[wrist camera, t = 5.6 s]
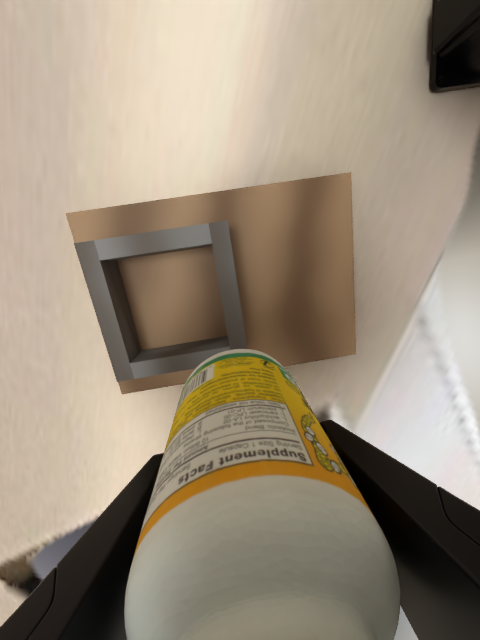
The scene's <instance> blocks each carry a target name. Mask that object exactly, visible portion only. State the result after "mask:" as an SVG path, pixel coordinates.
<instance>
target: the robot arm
mask: <svg viewBox="0 0 480 640" xmlns="http://www.w3.org/2000/svg"><path fill="white" fill-rule="evenodd" d="M439 80H440V82H441V83H439ZM430 85H431V89H432V90H433V91H434V92H439V91H447V90H454V89H462V88H469V87H477V86H480V0H434V17H433V40H432V62H431V84H430ZM319 424H320V425H321V427H322V429H323V430H324V432H325V433H326V435H327V437H328V438H329V440H330V442H331V444H332V445H333V447H334V449H335V450H336V452H337V454H338V455H339V457H340V459H341V460H342V462H343V464H344V466H345V467H346V469H347V471H348V472H349V474H350V476H351V477H352V479H353V481H354V483H355V484H356V486H357V488H358V489H359V491H360V493H361V495H362V496H363V498H364V500H365V502H366V504H367V505H368V507H369V509H370V510H371V512H372V514H373V515H374V517H375V519H376V521H377V522H378V524H379V526H380V528H381V529H382V531H383V533H384V535H385V537H386V539H387V541H388V544H389V546H390V549H391V551H392V554H393V557H394V560H395V563H396V568H397V572H398V577H399V585H400V605H401V607H402V609H403V611H404V612H405V615H406V617H407V618H408V620H409V622H410V624H411V626H412V628H413V630H414V632H415V634H416V635H417V637H418V639H419V640H480V510H478V509H476V508H475V507H473V506H471V505H469V504H468V503H466V502H464V501H463V500H461V499H459V498H458V497H456V496H454V495H453V494H451V493H449V492H448V491H446V490H445V489H443V488H441V487H437V485H436V484H435V483H433V482H431V481H430V480H428V479H426V478H425V477H423V476H422V475H420V474H418V473H417V472H415V471H413V470H412V469H410V468H409V467H407V466H405V465H404V464H402V463H400V462H399V461H397V460H396V459H394V458H392V457H391V456H389V455H387V454H386V453H384V452H383V451H381V450H379V449H378V448H376V447H374V446H373V445H371V444H370V443H368V442H366V441H365V440H363V439H361V438H360V437H358V436H357V435H355V434H353V433H352V432H350V431H348V430H347V429H345V428H344V427H342V426H340V425H339V424H337V423H335V422H334V421H332V420H325V421H321V422H320V423H319ZM163 455H164V453H161V454H157V455H154V456H152V457H151V458H150V460H149V461H148V462H147V463H146V464H145V465H144V466H143V468H142V469H141V470H140V471H139V472H138V473H137V474H136V475H135V477H134V478H133V479H132V480H131V481H130V482H129V483H128V485H127V486H126V487H125V488H124V489H123V490H122V491H121V493H120V494H119V495H118V496H117V497H116V498H115V499H114V500H113V502H112V503H111V504H110V505H109V506H108V507H107V508H106V510H105V511H104V512H103V513H102V514H101V515H100V516H99V517H98V519H97V520H96V521H95V522H94V523H93V524H92V526H91V527H90V528H89V529H88V530H87V531H86V532H85V533H84V535H83V536H82V537H81V538H80V539H79V540H78V541H77V543H76V544H75V545H74V546H73V547H72V548H71V549H70V550H69V552H68V553H67V554H66V555H65V556H64V557H63V558H62V560H61V561H60V562H59V563H58V564H57V568H56V567H55V568H53V570H52V571H51V572H50V573H49V574H48V575H47V576H46V578H45V579H44V580H43V581H42V582H41V583H40V584H39V585H38V587H37V588H36V589H35V590H34V591H33V592H32V593H31V594H30V595H29V597H28V598H27V599H26V600H25V601H24V602H23V603H22V604H21V605H20V606H19V608H18V609H17V610H16V611H15V612H14V613H13V614H12V615H11V616H10V617H9V618H8V619H7V620H6V622H5V623H4V624H3V625H2V626H1V627H0V640H127V636H126V630H125V617H124V607H125V594H126V587H127V582H128V577H129V573H130V568H131V565H132V561H133V557H134V554H135V550H136V547H137V543H138V540H139V536H140V533H141V529H142V526H143V522H144V519H145V515H146V512H147V509H148V505H149V502H150V499H151V495H152V492H153V489H154V485H155V482H156V479H157V475H158V472H159V468H160V465H161V462H162V458H163Z"/></svg>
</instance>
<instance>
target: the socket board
mask: <svg viewBox="0 0 480 640" xmlns="http://www.w3.org/2000/svg"><path fill="white" fill-rule="evenodd" d="M66 216H67V219H68V223H69V226H70V229H71V232H72V235H73V239H74V242H75V243H74V245H75V248H76V251H77V255H78V258H79V261H80V264H81V267H82V271H83V274H84V277H85V280H86V283H87V287H88V290H89V293H90V296H91V299H92V303H93V306H94V309H95V312H96V315H97V319H98V322H99V325H100V328H101V331H102V335H103V338H104V341H105V344H106V347H107V351H108V354H109V357H110V360H111V363H112V367H113V370H114V373H115V376H116V379H117V382H118V383H119V386H120V389H121V393H122V394H127V393H132V392H138V391H144V390H150V389H156V388H161V387H167V386H173V385H179V384H185V383H186V381H187V379H188V378H189V376H190V375H191V373H192V372H193V371H194V370H195V369H196V368H197V367H198V366H199V365H200V364H201V363H202V362H204V361H205V360H206V359H208V358H210V357H212V356H213V355H215V354H218V353H220V352H223V351H228V350H234V349H251V350H257V351H260V352H263V353H265V354H267V355H269V356H271V357H273V358H274V359H275V360H277V361H278V362H279V363H280V364H281V365H282V366H289V365H295V364H300V363H306V362H312V361H318V360H324V359H329V358H335V357H341V356H347V355H352V354H356V340H355V303H354V265H353V228H352V190H351V173H344V174H337V175H330V176H323V177H316V178H309V179H302V180H295V181H288V182H281V183H274V184H267V185H260V186H253V187H246V188H239V189H232V190H226V191H219V192H212V193H205V194H198V195H191V196H184V197H177V198H170V199H163V200H156V201H149V202H142V203H135V204H128V205H121V206H114V207H107V208H100V209H93V210H87V211H80V212H73V213H66Z"/></svg>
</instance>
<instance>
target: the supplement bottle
mask: <svg viewBox="0 0 480 640" xmlns="http://www.w3.org/2000/svg"><path fill="white" fill-rule="evenodd" d="M399 613H400V585H399V577H398V572H397V568H396V563H395V560H394V557H393V554H392V551H391V549H390V546H389V544H388V541H387V539H386V537H385V535H384V533H383V531H382V529H381V528H380V526H379V524H378V522H377V521H376V519H375V517H374V515H373V514H372V512H371V510H370V509H369V507H368V505H367V504H366V502H365V500H364V498H363V496H362V495H361V493H360V491H359V489H358V488H357V486H356V484H355V483H354V481H353V479H352V477H351V476H350V474H349V472H348V471H347V469H346V467H345V466H344V464H343V462H342V460H341V459H340V457H339V455H338V454H337V452H336V450H335V449H334V447H333V445H332V444H331V442H330V440H329V438H328V437H327V435H326V433H325V432H324V430H323V429H322V427H321V425H320V424H319V422H318V420H317V418H316V416H315V415H314V413H313V412H312V410H311V408H310V406H309V405H308V403H307V401H306V400H305V398H304V396H303V394H302V392H301V391H300V389H299V388H298V386H297V384H296V382H295V381H294V380H293V378H292V377H291V375H290V373H289V372H288V371H287V370H286V369H285V368H284V367H283V366H282V365H281V364H280V363H279V362H278V361H277V360H275V359H274V358H273V357H271V356H269V355H267V354H265V353H263V352H260V351H257V350H251V349H234V350H228V351H223V352H220V353H218V354H215V355H213V356H212V357H210V358H208V359H206V360H205V361H204V362H202V363H201V364H200V365H199V366H198V367H197V368H196V369H195V370H194V371H193V372H192V373H191V375H190V376H189V378H188V379H187V381H186V383H185V386H184V388H183V391H182V394H181V397H180V400H179V403H178V407H177V410H176V413H175V417H174V421H173V424H172V428H171V431H170V434H169V438H168V441H167V445H166V448H165V452H164V455H163V458H162V462H161V465H160V468H159V472H158V475H157V479H156V482H155V485H154V489H153V492H152V495H151V499H150V502H149V505H148V509H147V512H146V515H145V519H144V522H143V526H142V529H141V533H140V536H139V540H138V543H137V547H136V550H135V554H134V557H133V561H132V565H131V568H130V573H129V577H128V582H127V587H126V594H125V607H124V617H125V630H126V636H127V640H393V639H394V636H395V633H396V630H397V625H398V621H399Z"/></svg>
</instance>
